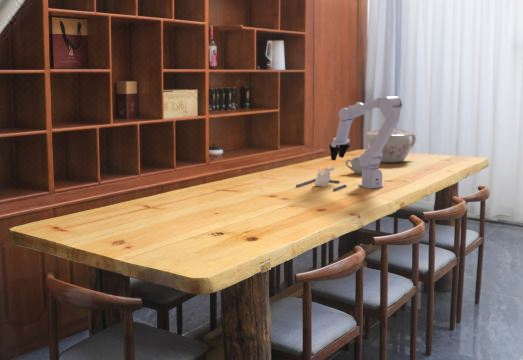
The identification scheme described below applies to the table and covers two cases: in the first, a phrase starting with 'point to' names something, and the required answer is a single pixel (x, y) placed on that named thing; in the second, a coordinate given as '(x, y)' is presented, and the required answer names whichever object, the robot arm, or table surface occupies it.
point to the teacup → (355, 165)
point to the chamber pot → (394, 145)
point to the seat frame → (328, 181)
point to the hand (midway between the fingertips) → (337, 158)
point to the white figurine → (323, 177)
